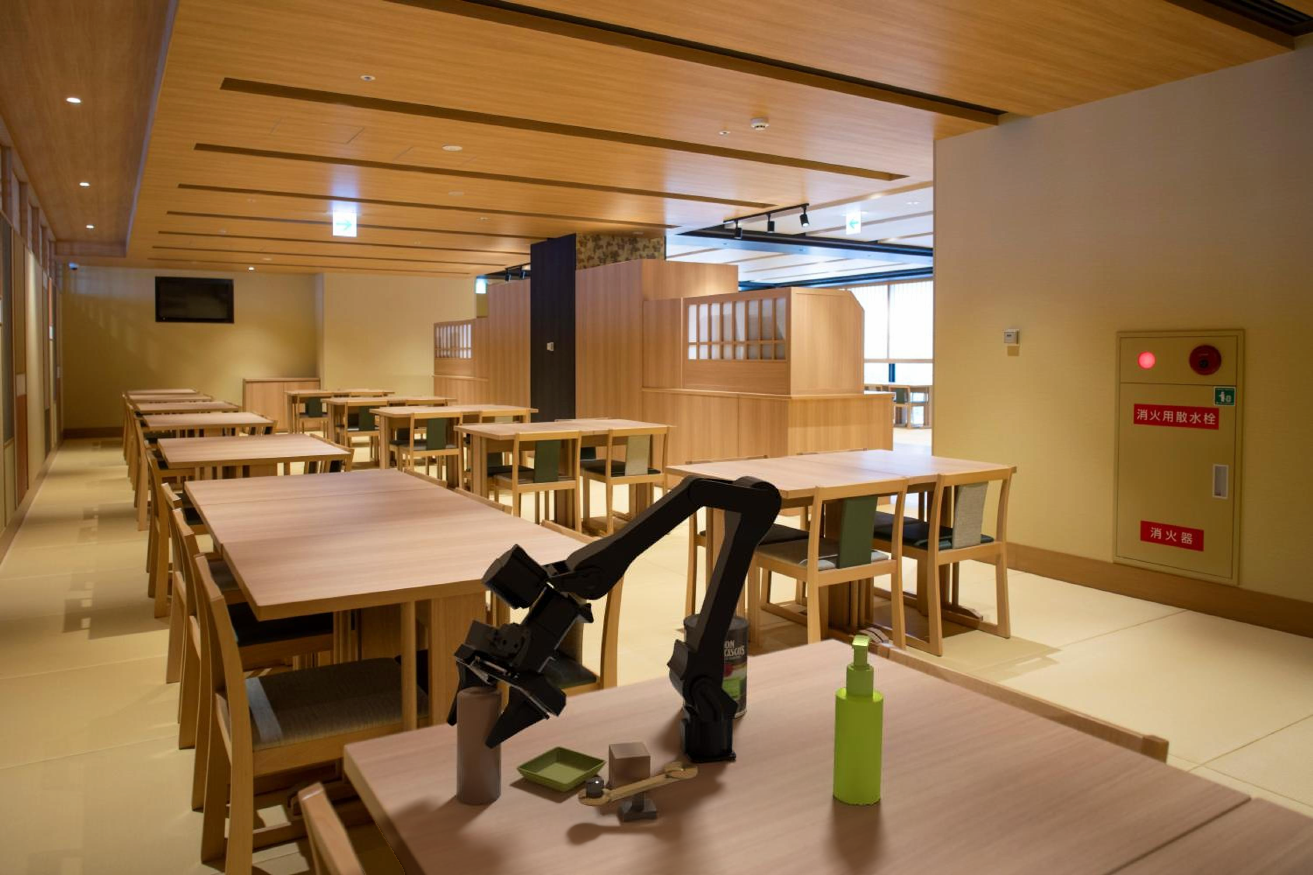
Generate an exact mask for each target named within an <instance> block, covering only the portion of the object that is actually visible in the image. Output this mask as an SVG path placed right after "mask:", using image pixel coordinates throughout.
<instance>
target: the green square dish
mask: <svg viewBox="0 0 1313 875" xmlns="http://www.w3.org/2000/svg"><path fill="white" fill-rule="evenodd" d="M606 764H607V760H605V759H603V758H599V757H598V756H593V755H589V754H587V753H582V752H580V751H577V750H573V749H570V748H568V747H564V746H561V745H560V746H559V745H558V746H555V747H553V748H550V749H548V750H547V751H545V752H543V753H541V754H539V755H537V756H535V757H533V758H531V759H529V760H527V761H524V762H522V764H519V765H517V766H516V768H515V769H516V770H517V772H518V773H519V774H520V775H521V776H522V777H524V778H525V779H526V780H527V781H531V782H533V783H537V784H539V785H542V786H546V787H548V788H551V789H554V790H556V791H559V792H563V793H566V792H568V791H570V790H571V789H573V788H575V787H577V786H579V785H580V784H582V783H584V782H586V780H587V779H589V778H594V776H596V775H597V774H598V773H599V772H600V771H601V770H602V768H604V766H605V765H606Z"/></svg>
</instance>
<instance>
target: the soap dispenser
mask: <svg viewBox="0 0 1313 875" xmlns="http://www.w3.org/2000/svg"><path fill="white" fill-rule="evenodd" d="M872 639H873V636H872V635H871V636H870V635H864V634H856V635H854V638H853V641H852V643H851V649H852V650H853V662H850V663H849V664H847V665H846V667H845V668H846V674H845V678H846V679H845V687H841V688H839V689H836V691H835V699H834V700H835V705H834V706H835V707H834V709H835V711H834V739H833V740H834V741H833V742H834V745H833V751H834V752H833V776H832V777H833V778H832V779H833V783H832V794H833V796H834V797H835V798H836V799H837V800H838V801H841V802H843V803H846V804H849V805H853V804H855V805H854V806H857V805H856V804H859V805H858V806H866V805H865V804H870V805H873V804H872V803H874V804H876V803H878V802H879V801H880V800H879V799H881V790H882V788H881V787H882V786H881V784H882V753H883V750H882V749H883V728H884V727H883V724H884V723H883V722H884V721H883V720H884V694H882V693H881V692H880V691H878V690H876V689H875V688H874V680H875V678H874V677H875V668H874V667H873V666H872V665H871V664H869V663H868V655H869V654H868V653H869V646H870V643H871V641H872ZM877 801H878V802H877ZM875 802H876V803H875ZM863 804H864V805H863Z"/></svg>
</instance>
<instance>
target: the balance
mask: <svg viewBox="0 0 1313 875" xmlns="http://www.w3.org/2000/svg"><path fill="white" fill-rule="evenodd" d="M697 775H698V767H697V765H695V764H694V763H693V762H688V761H682V760H681V761H680V760H679V761H673V762H668V763H667V764H666V765H665V766H664V773H663V774H660V775H656V776H653V777H650V778H649V779H646V780H643V781H640V782H636V783H633V784H630V785H627V786H623V787H620V788H617V789H614V790H612V789H611V790H609V789H607V788H605V780H604V779H603V778H601V777H594V776H593V777H591V778H589V779H587V780H586V781H585V787H584V788H583V789H581V790H580V791H579V792H578V794H577V799H578V800H577V801H578V802H579V803H580V804H581V805H584V806H587V807H601V806H605V805H608V804H609V803H610V802H613V801H616V800H619V799H622V798H626V797H629V796H631V797H632V798H631V801H629V800H628V801H620V802H619V809H618V811H619V813H620V815H621V817H622V820H623V822H624V823H628V822H638V821H646V820H657V819H658V810H657V807H656V805H655V803H654V802H653V799H652V798H650V799H645V794H644V791H645V790H649V789H650V790H652V789H655V788H658V787H661V786H663V785H664V786H665V785H668V784H671V783H674V782H677V781H680V780H690V779H692V778H695V777H696V776H697Z"/></svg>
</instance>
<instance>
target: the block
mask: <svg viewBox="0 0 1313 875" xmlns="http://www.w3.org/2000/svg"><path fill="white" fill-rule="evenodd" d="M649 778H651V754H650V752H649V751H648V749H647V747H646V745H645V743H644V741H634V742H633V741H631V742H621V743H620V742H619V743H610V744H608V784H609V785H610V788H611V790H614V789H617V788H620V787H623V786H627V785H630V784H633V783H636V782H640V781H643V780H646V779H649ZM646 794H651V789H649V790H645V791H644V795H646Z"/></svg>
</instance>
